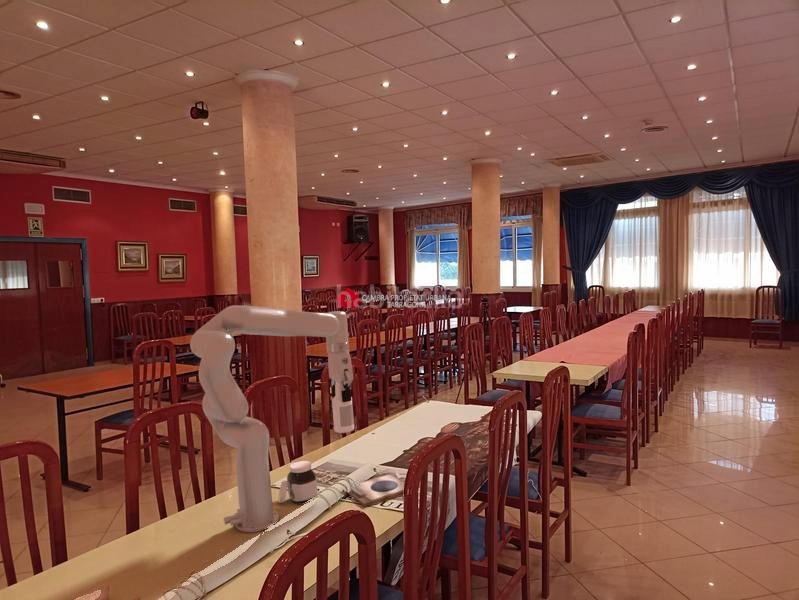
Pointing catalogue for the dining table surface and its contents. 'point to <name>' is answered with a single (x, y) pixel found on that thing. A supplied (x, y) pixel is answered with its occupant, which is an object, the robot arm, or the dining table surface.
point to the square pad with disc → (377, 490)
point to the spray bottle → (342, 412)
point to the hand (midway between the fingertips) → (341, 399)
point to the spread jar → (299, 483)
